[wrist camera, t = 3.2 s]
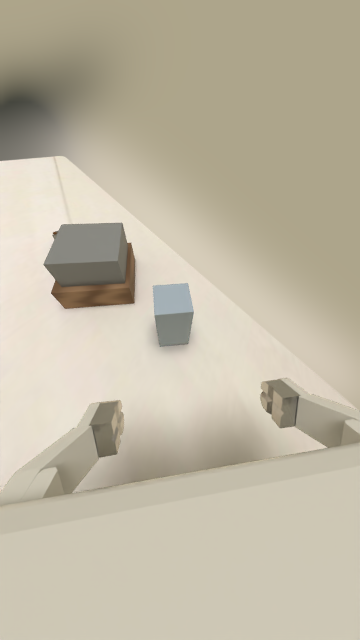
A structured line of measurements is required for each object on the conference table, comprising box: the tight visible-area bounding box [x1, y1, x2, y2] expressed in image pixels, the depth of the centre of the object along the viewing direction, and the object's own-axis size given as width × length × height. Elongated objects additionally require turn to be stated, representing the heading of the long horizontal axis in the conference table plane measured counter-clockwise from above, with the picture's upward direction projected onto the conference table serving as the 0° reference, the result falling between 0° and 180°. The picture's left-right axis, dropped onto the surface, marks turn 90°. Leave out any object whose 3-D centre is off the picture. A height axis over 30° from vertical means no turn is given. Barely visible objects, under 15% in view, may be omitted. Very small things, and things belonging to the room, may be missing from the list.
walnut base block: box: [51, 243, 135, 309], centre depth 32 cm, size 12×12×4 cm
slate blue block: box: [153, 283, 194, 347], centre depth 24 cm, size 4×4×9 cm
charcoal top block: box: [43, 223, 128, 287], centre depth 28 cm, size 10×10×4 cm
